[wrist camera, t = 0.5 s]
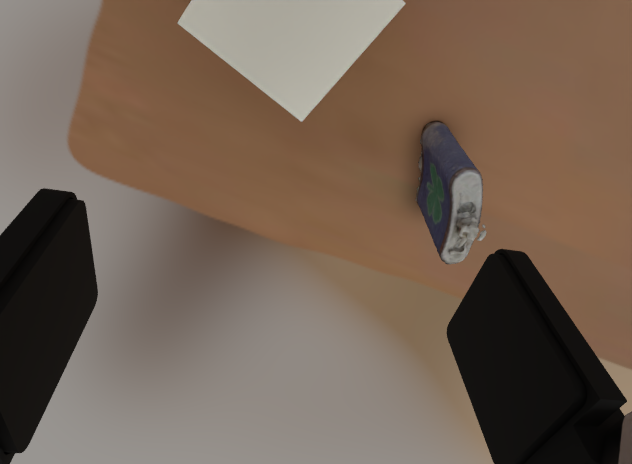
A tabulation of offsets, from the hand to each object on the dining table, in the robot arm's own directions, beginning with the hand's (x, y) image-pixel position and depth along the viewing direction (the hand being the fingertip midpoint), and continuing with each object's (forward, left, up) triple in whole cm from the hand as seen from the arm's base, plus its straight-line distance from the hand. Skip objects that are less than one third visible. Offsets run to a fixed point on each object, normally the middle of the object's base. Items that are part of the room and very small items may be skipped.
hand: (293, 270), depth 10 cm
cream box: (-1, -1, -28) cm, 28 cm away
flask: (+1, +18, -28) cm, 33 cm away
